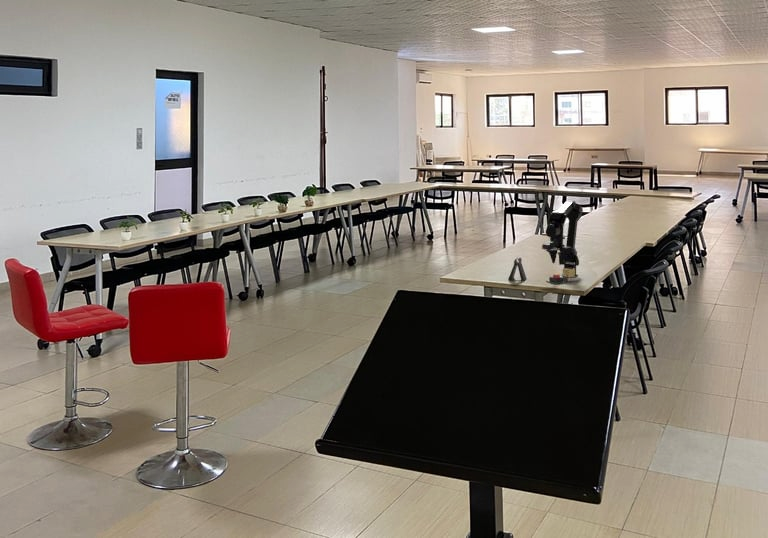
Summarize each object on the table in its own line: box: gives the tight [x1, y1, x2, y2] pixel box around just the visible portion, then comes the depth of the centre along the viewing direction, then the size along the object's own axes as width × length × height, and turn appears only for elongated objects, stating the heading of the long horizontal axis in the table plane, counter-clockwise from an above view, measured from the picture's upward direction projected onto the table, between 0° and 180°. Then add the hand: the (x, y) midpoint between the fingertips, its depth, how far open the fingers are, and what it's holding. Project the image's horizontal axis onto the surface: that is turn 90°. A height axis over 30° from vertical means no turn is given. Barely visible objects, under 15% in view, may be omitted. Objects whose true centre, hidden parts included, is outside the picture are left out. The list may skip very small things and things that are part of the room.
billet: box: [562, 267, 575, 278], centre depth 410 cm, size 4×4×6 cm
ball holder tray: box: [546, 275, 580, 285], centre depth 409 cm, size 16×8×3 cm, turn 117°
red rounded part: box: [552, 273, 561, 278], centre depth 407 cm, size 3×3×3 cm
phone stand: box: [507, 257, 527, 282], centre depth 414 cm, size 9×6×12 cm, turn 68°
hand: (556, 263), depth 405 cm, fingers open, 5 cm apart
